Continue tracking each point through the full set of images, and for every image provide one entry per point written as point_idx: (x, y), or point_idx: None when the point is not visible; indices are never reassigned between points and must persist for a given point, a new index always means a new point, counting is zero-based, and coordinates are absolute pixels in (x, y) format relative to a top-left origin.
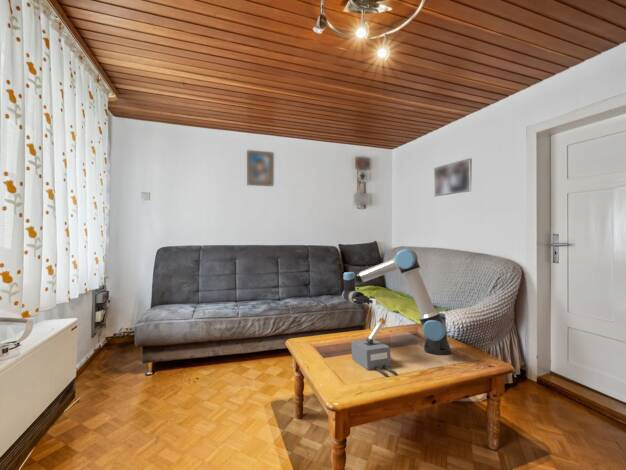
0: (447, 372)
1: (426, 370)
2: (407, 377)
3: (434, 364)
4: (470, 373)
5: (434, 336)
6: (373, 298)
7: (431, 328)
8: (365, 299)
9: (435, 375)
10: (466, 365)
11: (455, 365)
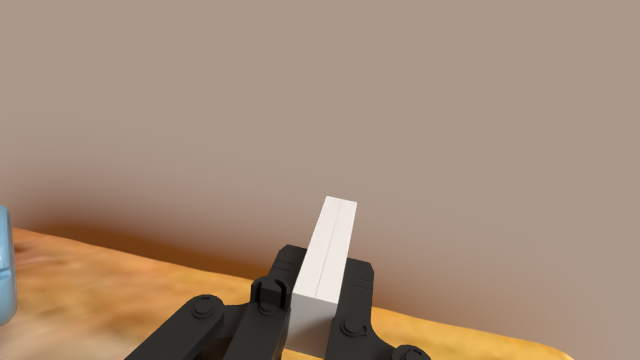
0: (157, 295)
1: None
2: None
3: (89, 356)
4: (125, 260)
5: (15, 283)
6: (224, 316)
7: (11, 255)
8: (404, 352)
9: None
10: (42, 287)
11: (61, 306)
